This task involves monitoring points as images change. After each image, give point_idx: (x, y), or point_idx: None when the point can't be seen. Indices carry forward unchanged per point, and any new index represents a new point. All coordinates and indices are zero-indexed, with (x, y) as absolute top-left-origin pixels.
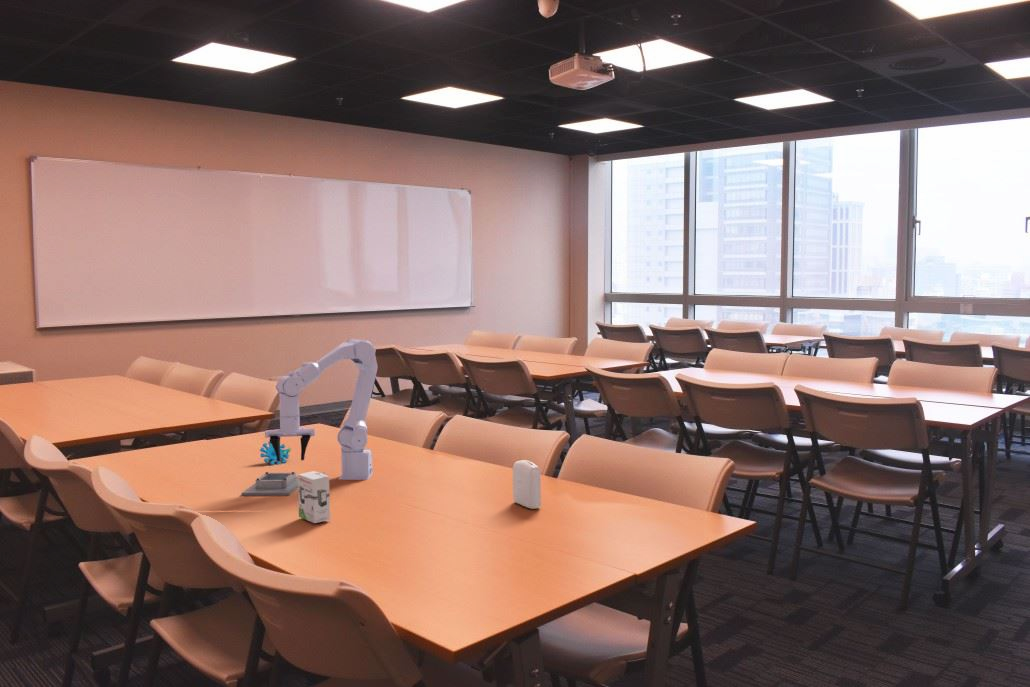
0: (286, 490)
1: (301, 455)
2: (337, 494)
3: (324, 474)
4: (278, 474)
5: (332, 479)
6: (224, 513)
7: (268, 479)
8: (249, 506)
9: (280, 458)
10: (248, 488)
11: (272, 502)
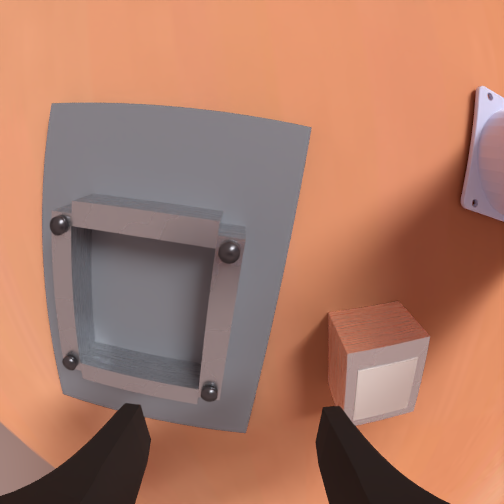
0: (229, 405)
1: (325, 477)
2: (416, 415)
3: (418, 382)
4: (129, 232)
5: (435, 173)
6: None
7: (86, 229)
8: (150, 482)
9: (138, 417)
10: (54, 340)
11: (205, 471)
